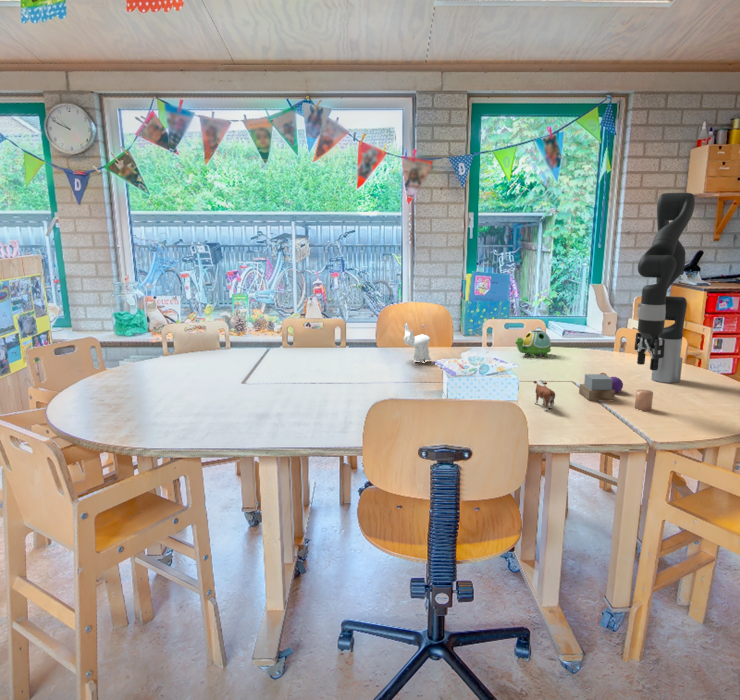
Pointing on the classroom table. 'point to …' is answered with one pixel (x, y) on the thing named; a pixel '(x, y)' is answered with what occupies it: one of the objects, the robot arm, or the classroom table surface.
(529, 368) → the classroom table surface
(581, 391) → the bottom block
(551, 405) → the bull figurine
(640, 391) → the terracotta cylinder
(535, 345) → the turtle holder
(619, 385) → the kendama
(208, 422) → the classroom table surface
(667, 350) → the robot arm
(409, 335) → the toy animal
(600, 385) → the top block
